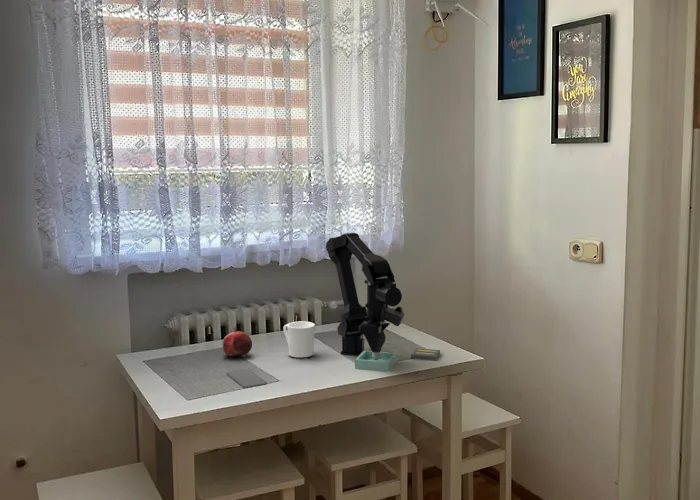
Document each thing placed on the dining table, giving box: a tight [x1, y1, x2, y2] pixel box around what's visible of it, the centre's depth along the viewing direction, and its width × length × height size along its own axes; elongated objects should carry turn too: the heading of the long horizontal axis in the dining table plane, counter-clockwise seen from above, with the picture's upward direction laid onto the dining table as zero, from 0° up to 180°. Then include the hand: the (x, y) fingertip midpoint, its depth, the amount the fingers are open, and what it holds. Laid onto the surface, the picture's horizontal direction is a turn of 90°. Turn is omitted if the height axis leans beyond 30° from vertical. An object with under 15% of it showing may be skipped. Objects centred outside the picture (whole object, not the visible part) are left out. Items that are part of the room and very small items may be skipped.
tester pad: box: [410, 347, 441, 361], centre depth 239 cm, size 8×8×1 cm
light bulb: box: [371, 330, 386, 360], centre depth 228 cm, size 6×6×10 cm
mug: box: [282, 320, 316, 360], centre depth 239 cm, size 11×9×10 cm
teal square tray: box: [354, 349, 398, 373], centre depth 229 cm, size 11×11×3 cm
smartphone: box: [225, 368, 268, 389], centre depth 216 cm, size 8×1×15 cm
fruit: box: [222, 325, 253, 358], centre depth 238 cm, size 9×10×10 cm
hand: (376, 348), depth 228 cm, fingers closed on light bulb, 5 cm apart
